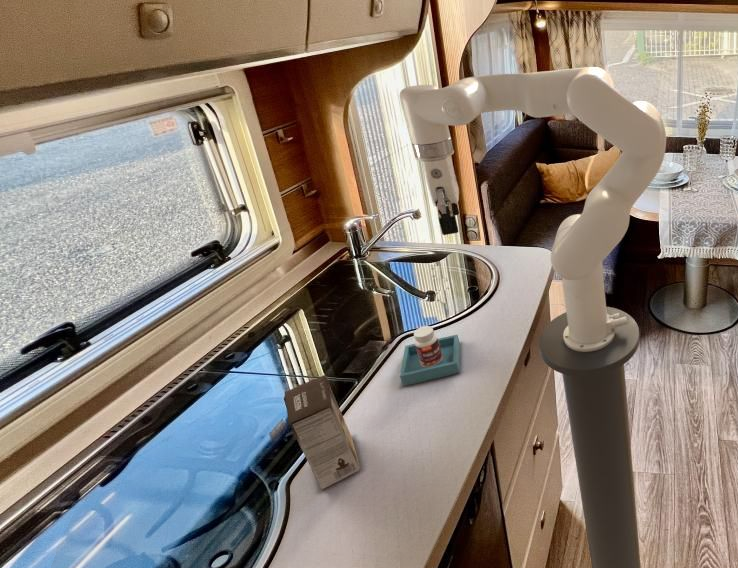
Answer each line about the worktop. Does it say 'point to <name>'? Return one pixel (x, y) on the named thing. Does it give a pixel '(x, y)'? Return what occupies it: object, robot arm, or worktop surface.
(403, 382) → the medicine tray
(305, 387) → the coffee box
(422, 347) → the pill bottle
